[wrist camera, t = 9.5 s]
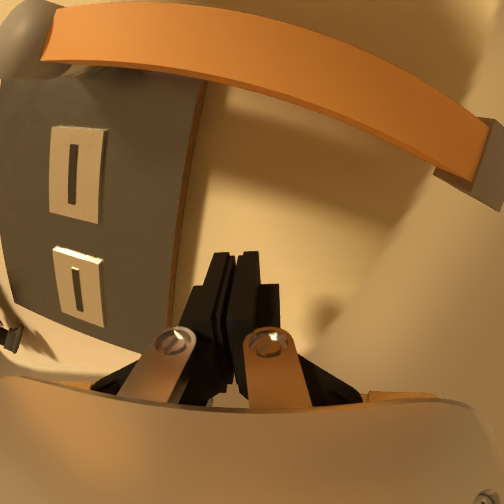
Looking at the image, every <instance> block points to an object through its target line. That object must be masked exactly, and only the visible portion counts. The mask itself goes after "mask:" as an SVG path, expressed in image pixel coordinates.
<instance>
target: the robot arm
mask: <svg viewBox="0 0 504 504" xmlns="http://www.w3.org/2000/svg"><path fill="white" fill-rule="evenodd" d="M234 373H235V378H236V383H237V384H238V387H239V392H240V393H241V394H242V395H243V396H244V397H245V398H246V399H248V400H249V406H250V408H223V407H212V405H213V397H214V396H215V395H217V394H218V393H226V390H227V384H232V383H233V377H234ZM0 504H504V457H503V455H502V452H501V449H500V447H499V444H498V442H497V440H496V438H495V436H494V434H493V432H492V430H491V428H490V427H489V425H488V423H487V422H486V420H485V419H484V417H483V416H482V415H481V414H480V413H479V412H478V411H477V410H476V409H475V408H473V407H472V406H470V405H468V404H465V403H462V402H459V401H454V400H449V399H440V398H438V397H437V396H435V395H433V394H429V393H405V392H404V393H403V392H379V391H369V393H368V394H359V392H358V391H357V390H355V389H354V388H353V387H351V386H349V385H348V384H346V383H344V382H343V381H341V380H339V379H338V378H336V377H334V376H333V375H331V374H329V373H328V372H326V371H324V370H323V369H321V368H319V367H318V366H316V365H315V364H313V363H312V362H310V361H308V360H307V359H305V358H304V357H302V356H300V355H299V354H297V351H296V348H295V344H294V341H293V338H292V337H291V335H290V334H289V333H288V332H287V331H285V330H283V329H281V328H280V298H279V284H261V281H260V265H259V252H258V251H247V252H244V253H243V255H239V256H238V260H237V265H236V262H235V256H230V254H229V252H219V253H214V255H213V258H212V261H211V263H210V266H209V269H208V272H207V275H206V278H205V280H204V283H203V286H194V287H193V289H192V291H191V294H190V296H189V299H188V302H187V304H186V307H185V309H184V312H183V315H182V317H181V320H180V323H179V325H178V326H175V327H169V328H166V329H164V330H161V331H160V332H158V333H157V334H156V335H155V336H154V337H153V338H152V340H151V341H150V343H149V345H148V346H147V348H146V349H145V351H144V352H143V354H142V355H141V357H140V359H139V360H137V361H135V362H133V363H131V364H129V365H127V366H126V367H124V368H122V369H120V370H118V371H116V372H114V373H112V374H110V375H108V376H106V377H104V378H102V379H100V380H99V381H97V382H96V383H95V384H94V385H93V383H92V382H54V381H49V380H45V379H40V378H35V377H29V376H5V377H0Z"/></svg>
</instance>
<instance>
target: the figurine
mask: <svg viewBox="0 0 504 504" xmlns="http://www.w3.org/2000/svg"><path fill="white" fill-rule="evenodd" d="M0 325H1V326H4V325H3V324H2V322H1V321H0ZM1 326H0V344H1V345H3V346H4V348H5V349H7V350H10V351H12V352H13V353H14V354H15V353H16V352H17V350H18V348H19V344H20V341H21V336H22V332H23V325H22V324H21V325H20V326H19V327H18V328H14V329H12V328H10V329H9V331H8V330H6V329H4V328H3V327H1Z"/></svg>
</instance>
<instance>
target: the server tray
mask: <svg viewBox="0 0 504 504" xmlns="http://www.w3.org/2000/svg"><path fill="white" fill-rule="evenodd" d="M207 83H208V80H204V79H199V78H194V77H188V76H183V75H177V74H171V73H164V72H157V71H150V70H142V69H133V68H122V67H110V66H92V65H72V66H71V67H70V68H69V69H68V70H67V71H66V72H65V73H64V74H62V75H61V76H59V77H57V78H54V79H49V80H45V79H16V80H2V79H1V86H0V236H1V242H2V249H3V254H4V260H5V265H6V270H7V274H8V279H9V283H10V287H11V291H12V295H13V299H14V302H15V303H16V304H18V305H20V306H22V307H24V308H27V309H29V310H31V311H33V312H35V313H37V314H39V315H41V316H44V317H46V318H48V319H50V320H52V321H55V322H57V323H59V324H62V325H64V326H66V327H69V328H71V329H74V330H76V331H79V332H81V333H84V334H86V335H89V336H91V337H94V338H97V339H99V340H102V341H105V342H108V343H110V344H113V345H116V346H119V347H122V348H125V349H128V350H131V351H134V352H137V353H140V354H143V352H144V351H145V349H146V348H147V346H148V345H149V343H150V341H151V340H152V338H153V337H154V336H155V335H156V334H157V333H158V332H160V331H161V330H164V329H166V328H169V327H171V323H172V310H173V298H174V288H175V278H176V268H177V259H178V250H179V242H180V234H181V227H182V219H183V212H184V205H185V199H186V192H187V186H188V180H189V174H190V168H191V162H192V156H193V151H194V145H195V140H196V135H197V130H198V125H199V120H200V115H201V110H202V105H203V101H204V96H205V92H206V87H207Z"/></svg>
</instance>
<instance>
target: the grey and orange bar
mask: <svg viewBox="0 0 504 504" xmlns="http://www.w3.org/2000/svg"><path fill="white" fill-rule="evenodd" d="M72 65H92V66H110V67H122V68H133V69H142V70H150V71H157V72H164V73H171V74H177V75H183V76H188V77H194V78H199V79H204V80H208V81H213V82H218V83H222V84H226V85H230V86H235V87H239V88H242V89H246V90H250V91H254V92H257V93H261V94H264V95H268V96H271V97H274V98H278V99H281V100H284V101H287V102H290V103H293V104H296V105H299V106H302V107H305V108H308V109H311V110H314V111H316V112H319V113H322V114H325V115H327V116H330V117H332V118H335V119H337V120H340V121H342V122H345V123H347V124H350V125H352V126H355V127H357V128H359V129H362V130H364V131H366V132H368V133H371V134H373V135H375V136H377V137H379V138H381V139H384V140H386V141H388V142H390V143H392V144H394V145H396V146H398V147H400V148H402V149H404V150H406V151H408V152H410V153H412V154H414V155H416V156H417V157H419V158H421V159H423V160H425V161H427V162H428V163H430V164H432V165H434V166H436V168H435V170H434V173H433V175H434V176H436V177H438V178H440V179H442V180H443V181H445V182H447V183H449V184H450V185H452V186H453V187H455V188H457V189H458V190H460V191H462V192H464V193H466V194H468V195H470V196H471V197H473V198H475V199H477V200H479V201H480V202H482V203H484V204H486V205H487V206H489V207H491V208H493V209H494V210H496V211H498V212H499V211H500V209H501V207H502V204H503V202H504V127H503V126H502V125H501V124H500V123H499V122H498V121H496V120H495V119H489V118H481V117H475V116H474V115H473V114H471V113H470V112H469V111H467V110H466V109H465V108H463V107H462V106H461V105H459V104H458V103H456V102H455V101H453V100H452V99H450V98H449V97H447V96H446V95H444V94H443V93H441V92H440V91H438V90H437V89H435V88H433V87H432V86H430V85H429V84H427V83H425V82H424V81H422V80H420V79H418V78H417V77H415V76H413V75H411V74H410V73H408V72H406V71H404V70H402V69H400V68H399V67H397V66H395V65H393V64H391V63H389V62H387V61H385V60H383V59H381V58H379V57H376V56H374V55H372V54H370V53H368V52H366V51H363V50H361V49H359V48H356V47H354V46H352V45H349V44H347V43H344V42H342V41H339V40H337V39H334V38H331V37H329V36H326V35H323V34H320V33H317V32H314V31H311V30H308V29H305V28H302V27H299V26H296V25H292V24H289V23H285V22H282V21H278V20H274V19H270V18H266V17H262V16H257V15H253V14H248V13H243V12H238V11H233V10H227V9H221V8H214V7H206V6H198V5H189V4H177V3H159V2H118V3H101V4H90V5H80V6H73V7H64V6H61V5H58V4H55V3H52V2H48V1H45V0H25V1H23V2H22V3H20V4H19V5H18V6H16V7H15V8H14V9H13V10H12V11H11V12H10V14H9V15H8V16H7V17H6V19H5V20H4V22H3V23H2V25H1V27H0V79H2V80H16V79H45V80H49V79H54V78H57V77H59V76H61V75H62V74H64V73H65V72H66V71H67V70H68V69H69V68H70V67H71V66H72Z"/></svg>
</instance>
